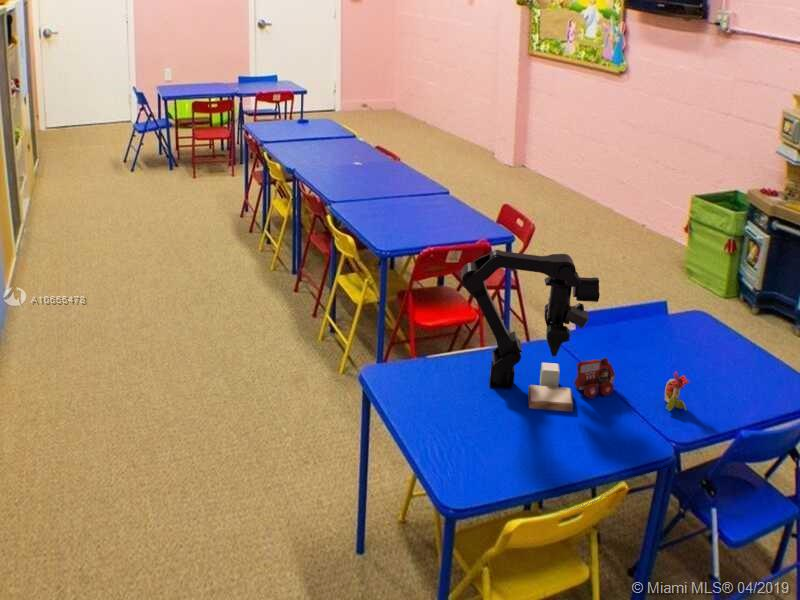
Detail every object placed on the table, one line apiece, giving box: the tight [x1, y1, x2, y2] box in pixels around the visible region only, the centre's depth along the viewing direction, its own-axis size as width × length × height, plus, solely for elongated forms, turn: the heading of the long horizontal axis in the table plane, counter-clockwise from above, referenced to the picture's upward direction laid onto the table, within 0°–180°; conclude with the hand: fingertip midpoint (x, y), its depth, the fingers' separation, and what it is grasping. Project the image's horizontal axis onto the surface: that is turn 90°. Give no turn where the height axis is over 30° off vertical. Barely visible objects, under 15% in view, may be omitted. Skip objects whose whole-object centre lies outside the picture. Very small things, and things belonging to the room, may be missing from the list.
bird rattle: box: [664, 371, 691, 412], centre depth 237 cm, size 6×11×9 cm
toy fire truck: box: [573, 357, 616, 399], centre depth 243 cm, size 7×12×10 cm, turn 110°
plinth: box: [527, 384, 574, 413], centre depth 239 cm, size 12×9×2 cm
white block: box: [539, 362, 560, 387], centre depth 246 cm, size 5×5×6 cm
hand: (553, 348), depth 242 cm, fingers open, 9 cm apart
